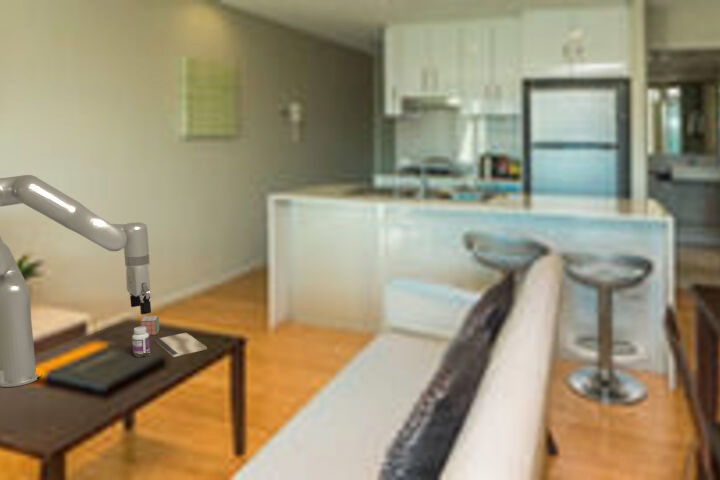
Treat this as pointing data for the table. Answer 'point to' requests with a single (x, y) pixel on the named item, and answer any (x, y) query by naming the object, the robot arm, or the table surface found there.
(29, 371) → the robot arm
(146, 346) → the pill bottle
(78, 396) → the table surface
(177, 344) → the board
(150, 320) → the puzzle toy
